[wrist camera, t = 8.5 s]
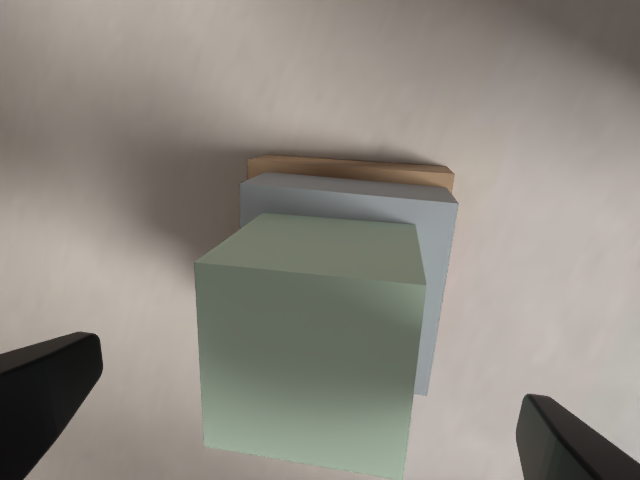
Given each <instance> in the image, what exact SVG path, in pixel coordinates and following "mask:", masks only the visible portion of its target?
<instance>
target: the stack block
mask: <svg viewBox="0 0 640 480" xmlns="http://www.w3.org/2000/svg"><path fill="white" fill-rule="evenodd" d="M194 270H195V288H196V307H197V325H198V344H199V362H200V381H201V399H202V418H203V436H204V447H210V448H216V449H221V450H227V451H233V452H239V453H245V454H250V455H256V456H262V457H268V458H273V459H279V460H285V461H291V462H297V463H302V464H308V465H314V466H320V467H325V468H331V469H337V470H343V471H349V472H354V473H360V474H366V475H372V476H377V477H383V478H389V479H395V480H403V477H404V469H405V460H406V452H407V444H408V436H409V428H410V419H411V411H412V403H413V395H414V386H415V378H416V370H417V362H418V354H419V345H420V337H421V329H422V321H423V313H424V304H425V296H426V288H427V284H426V278H425V273H424V268H423V262H422V257H421V252H420V246H419V241H418V235H417V230H416V225H413V224H400V223H387V222H375V221H362V220H349V219H336V218H324V217H311V216H298V215H285V214H272V213H262V214H261V215H259V216H258V217H256V218H255V219H254V220H252V221H251V222H249V223H248V224H247V225H245V226H244V227H242V228H241V229H240V230H238V231H237V232H235V233H234V234H233V235H231V236H230V237H228V238H227V239H226V240H224V241H223V242H221V243H220V244H219V245H217V246H216V247H215V248H213V249H212V250H210V251H209V252H208V253H206V254H205V255H203V256H202V257H201V258H199V259H198V260H196V261H195V262H194Z"/></svg>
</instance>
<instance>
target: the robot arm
mask: <svg viewBox="0 0 640 480" xmlns="http://www.w3.org/2000/svg"><path fill="white" fill-rule="evenodd" d="M102 371H103V360H102V352H101V344H100V339H99V337H98V336H97V335H96V334H94V333H87V332H75V333H72V334H68V335H65V336H61V337H58V338H54V339H51V340H48V341H44V342H41V343H37V344H34V345H30V346H27V347H23V348H20V349H16V350H13V351H10V352H6V353H3V354H0V480H24V479H25V477H26V476H27V475H28V474H29V472H30V471H31V470H32V469H33V468H34V466H35V465H36V464H37V463H38V462H39V460H40V459H41V458H42V457H43V456H44V454H45V453H46V452H47V451H48V450H49V448H50V447H51V446H52V445H53V443H54V442H55V441H56V440H57V438H58V437H59V436H60V434H61V433H62V431H63V430H64V429H65V427H66V426H67V424H68V423H69V422H70V420H71V419H72V417H73V416H74V414H75V413H76V411H77V410H78V409H79V407H80V406H81V404H82V403H83V401H84V400H85V398H86V397H87V396H88V394H89V393H90V391H91V390H92V388H93V387H94V385H95V384H96V383H97V381H98V380H99V378H100V376H101V374H102ZM516 442H517V447H518V452H519V456H520V461H521V466H522V471H523V476H524V480H640V464H639V463H638V462H637V461H635V460H634V459H633V458H631V457H630V456H629V455H627V454H626V453H625V452H623V451H622V450H621V449H619V448H618V447H617V446H615V445H614V444H613V443H611V442H610V441H608V440H607V439H606V438H604V437H603V436H602V435H600V434H599V433H598V432H596V431H595V430H594V429H592V428H591V427H590V426H588V425H587V424H586V423H584V422H583V421H582V420H580V419H579V418H578V417H576V416H575V415H574V414H572V413H571V412H570V411H568V410H567V409H565V408H564V407H563V406H561V405H560V404H559V403H557V402H556V401H555V400H553V399H552V398H551V397H548V396H544V395H536V394H527V395H525V397H524V398H523V401H522V405H521V410H520V414H519V419H518V423H517V428H516Z"/></svg>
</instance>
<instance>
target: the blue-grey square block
mask: <svg viewBox="0 0 640 480" xmlns="http://www.w3.org/2000/svg"><path fill="white" fill-rule="evenodd" d="M458 204H459V203H458V202H457V201H456V199H455V198H454V197H453V195H452V194H451V193H450V191H449V190H448V189H447V188H445V187H434V186H422V185H411V184H399V183H388V182H376V181H365V180H353V179H342V178H331V177H319V176H308V175H296V174H285V173H273V172H265V173H263V174H260V175H258V176H256V177H253V178H251V179H249V180H247V181H244V182H242V183H240V229H241V228H242V227H244V226H245V225H247V224H248V223H249V222H251V221H252V220H254V219H255V218H256V217H258V216H259V215H261V214H262V213H272V214H285V215H298V216H311V217H324V218H336V219H349V220H362V221H375V222H387V223H400V224H413V225H416V230H417V235H418V241H419V246H420V252H421V257H422V262H423V268H424V273H425V278H426V284H427V288H426V296H425V304H424V313H423V321H422V329H421V337H420V345H419V354H418V362H417V370H416V378H415V386H414V394H418V395H424V396H427V393H428V387H429V381H430V374H431V368H432V362H433V356H434V350H435V344H436V338H437V332H438V326H439V320H440V314H441V308H442V302H443V295H444V289H445V283H446V277H447V271H448V265H449V259H450V253H451V247H452V241H453V235H454V229H455V222H456V216H457V210H458Z"/></svg>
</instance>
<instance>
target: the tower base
mask: <svg viewBox="0 0 640 480" xmlns="http://www.w3.org/2000/svg"><path fill="white" fill-rule="evenodd" d="M265 172H273V173H285V174H296V175H308V176H319V177H331V178H342V179H353V180H365V181H376V182H388V183H399V184H411V185H422V186H434V187H445V188H447V189H448V190H449V191H450V193H451V194H452V188H453V181H454V173H453V172H452V171H451V170H450V169H449V168H448V167H447V166H432V165H417V164H402V163H386V162H371V161H356V160H341V159H325V158H310V157H295V156H279V155H262V156H259V157H256V158H252V159H249V160H247V180H249V179H251V178H253V177H256V176H258V175H260V174H263V173H265Z"/></svg>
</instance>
